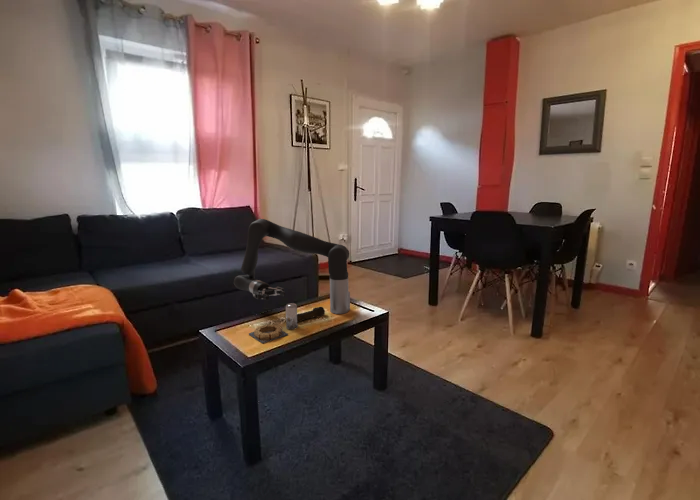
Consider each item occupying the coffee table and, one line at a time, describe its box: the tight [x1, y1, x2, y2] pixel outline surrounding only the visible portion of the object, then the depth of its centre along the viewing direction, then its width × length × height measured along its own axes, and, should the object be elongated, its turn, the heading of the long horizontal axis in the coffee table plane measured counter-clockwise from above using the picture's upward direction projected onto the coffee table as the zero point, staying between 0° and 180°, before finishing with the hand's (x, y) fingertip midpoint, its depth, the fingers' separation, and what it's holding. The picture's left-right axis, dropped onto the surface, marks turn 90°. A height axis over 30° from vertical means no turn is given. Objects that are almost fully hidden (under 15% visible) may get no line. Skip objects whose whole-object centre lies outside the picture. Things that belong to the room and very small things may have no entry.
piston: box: [285, 302, 299, 330], centre depth 162 cm, size 5×5×11 cm
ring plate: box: [248, 324, 289, 344], centre depth 155 cm, size 12×12×2 cm
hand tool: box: [297, 306, 326, 323], centre depth 172 cm, size 19×4×5 cm, turn 124°
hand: (276, 296), depth 169 cm, fingers open, 8 cm apart
